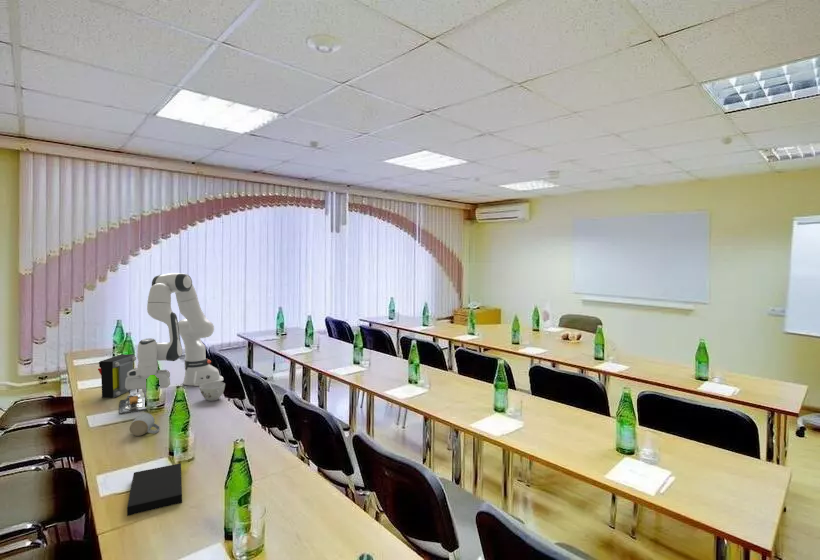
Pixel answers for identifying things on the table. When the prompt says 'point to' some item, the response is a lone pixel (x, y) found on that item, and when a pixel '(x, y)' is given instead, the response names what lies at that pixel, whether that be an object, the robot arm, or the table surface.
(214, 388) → the teacup
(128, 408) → the plate
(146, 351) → the robot arm
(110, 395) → the electrical component
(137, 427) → the ceramic mug
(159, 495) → the external hard drive
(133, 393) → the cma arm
